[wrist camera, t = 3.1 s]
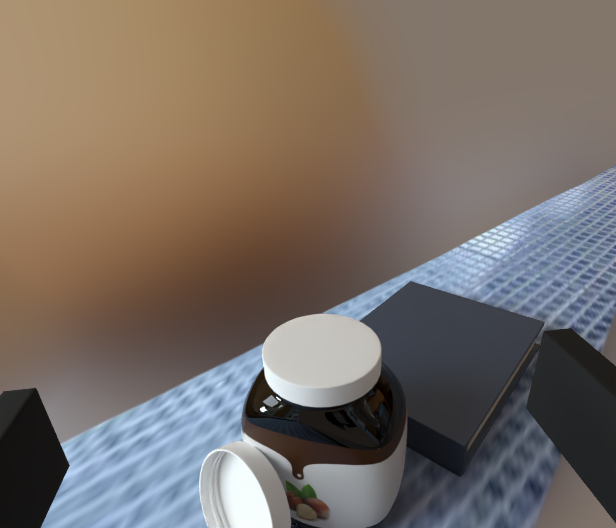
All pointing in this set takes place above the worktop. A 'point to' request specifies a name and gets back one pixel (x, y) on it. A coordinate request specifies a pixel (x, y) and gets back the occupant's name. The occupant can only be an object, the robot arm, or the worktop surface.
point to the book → (451, 366)
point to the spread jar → (312, 434)
